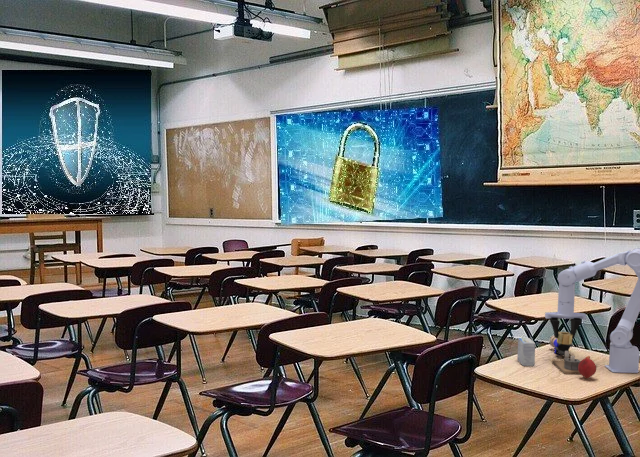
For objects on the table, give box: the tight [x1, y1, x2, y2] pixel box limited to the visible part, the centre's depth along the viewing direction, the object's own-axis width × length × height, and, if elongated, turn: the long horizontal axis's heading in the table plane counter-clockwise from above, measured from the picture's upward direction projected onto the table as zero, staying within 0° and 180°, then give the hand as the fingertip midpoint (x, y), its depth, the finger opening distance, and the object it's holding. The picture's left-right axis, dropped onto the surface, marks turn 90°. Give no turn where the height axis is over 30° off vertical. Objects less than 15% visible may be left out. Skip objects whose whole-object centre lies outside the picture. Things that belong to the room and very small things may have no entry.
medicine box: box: [516, 337, 536, 367], centre depth 272 cm, size 8×4×9 cm, turn 179°
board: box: [551, 350, 582, 376], centre depth 266 cm, size 10×14×6 cm
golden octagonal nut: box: [557, 331, 573, 345], centre depth 275 cm, size 5×5×4 cm
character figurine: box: [548, 334, 574, 357], centre depth 286 cm, size 8×7×15 cm
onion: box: [578, 355, 597, 380], centre depth 254 cm, size 6×6×8 cm
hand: (564, 337), depth 275 cm, fingers closed on golden octagonal nut, 5 cm apart
